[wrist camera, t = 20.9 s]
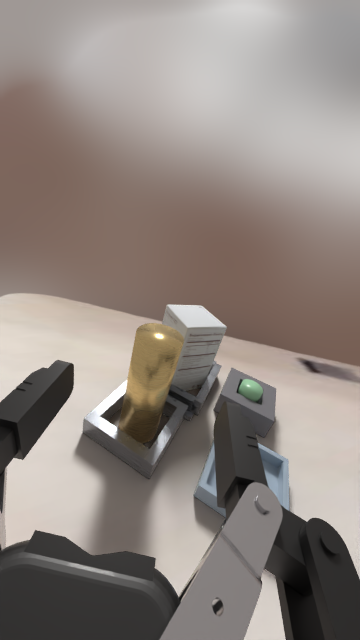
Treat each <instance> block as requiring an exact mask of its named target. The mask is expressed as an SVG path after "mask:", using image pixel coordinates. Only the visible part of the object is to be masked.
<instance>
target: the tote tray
mask: <svg viewBox="0 0 360 640" xmlns="http://www.w3.org/2000/svg"><path fill="white" fill-rule="evenodd" d="M258 446H259V448H258V449H259V450H260V454H261V459H262V463H263V467H264V471H265V475H266V479H267V483H268V486H269V489H271V490H272V491H273V493H274V494H275V495H276V497H277V498H278V500H279V502H280V504H281V505H282V506H283V507H284V508H285V509H287V510H288V511H289V470H288V459H286V458H284V457H283V456H281V455H279V454H277V453H275V452H274V451H272V450H270V449H268V448H266V447H265V446H263V445H261V444H259V443H258ZM194 496H195V497H196V498H198V499H199V500H200V501H202V502H203V503H205V504H206V505H208V506H209V507H211V508H212V509H214V510H215V511H217V512H218V513H219V514H221V515H222V516H224V517H225V518H226V511H225V509H224V508H220V507H217V491H216V471H215V451H214V440H213V443H212V446H211V448H210V451H209V454H208V457H207V460H206V462H205V465H204V468H203V471H202V473H201V476H200V479H199V482H198V485H197V487H196V490H195V493H194Z"/></svg>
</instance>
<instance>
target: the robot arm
mask: <svg viewBox="0 0 360 640" xmlns="http://www.w3.org/2000/svg"><path fill="white" fill-rule="evenodd" d="M73 386H74V365H73V364H72V363H68V362H64V361H60V360H57V361H55V362H54V363H53V364H52V365H51V366H50V367H49V368H48V369H47V368H41V369H39V370H37V371H35V372H33V373H32V374H30V375H29V376H28V377H27V378H26V379H25V380H24V381H23V383H21V384H20V385H19V386H17V387H16V389H14V390H13V391H12V392H11V393H10V394H9V395H8V396H7V397H6V398H4V399H3V400H2V401H1V402H0V640H244V637H245V634H246V631H247V629H248V626H249V623H250V620H251V617H252V615H253V612H254V609H255V606H256V604H257V601H258V598H259V595H260V592H261V588H262V581H261V575H262V572H263V569H264V568H265V569H267V570H268V571H270V572H271V573H272V574H274V575H275V576H276V582H277V588H278V594H279V600H280V606H281V613H282V619H283V625H284V631H285V637H286V640H360V579H359V577H358V574H357V571H356V569H355V566H354V564H353V561H352V559H351V556H350V554H349V551H348V549H347V547H346V545H345V543H344V541H343V539H342V538H341V536H340V535H339V534H338V532H337V531H336V530H335V529H334V528H333V527H332V526H331V525H330V524H328V523H327V522H325V521H324V520H322V519H319V518H312V519H310V520H309V521H308V522H306V521H305V520H303V519H301V518H300V517H298V516H296V515H295V514H293V513H292V512H290V511H288V510H287V509H285V508H284V507H283V506H282V505H281V504H280V502H279V500H278V498H277V497H276V495H275V494H274V493H273V491H272V490H271V489H269V486H268V483H267V479H266V475H265V471H264V467H263V463H262V459H261V454H260V450H259V449H258V448H259V446H258V442H257V440H256V434H255V429H254V427H253V425H252V424H251V422H250V420H249V419H248V418H247V417H243V416H242V413H241V408H240V405H238V404H234V403H230V402H226V401H225V402H224V403H223V405H222V407H221V409H220V412H219V414H218V416H217V418H216V421H215V424H214V451H215V471H216V491H217V507H220V508H224V509H225V511H226V519H225V521H224V522H223V524H222V526H221V527H220V529H219V531H218V532H217V534H216V536H215V537H214V539H213V541H212V543H211V544H210V546H209V548H208V549H207V551H206V553H205V554H204V556H203V558H202V559H201V561H200V563H199V564H198V566H197V567H196V569H195V571H194V572H193V574H192V575H191V577H190V579H189V580H188V582H187V584H186V585H185V587H184V589H183V590H182V592H181V594H180V595H179V597H178V595H177V593H176V591H175V590H174V588H173V587H172V585H171V584H170V582H169V581H168V580H167V578H166V577H165V576H164V575H163V574H162V573H161V572H160V571H158V570H157V569H155V568H154V567H155V559H156V558H153V557H149V556H145V555H140V554H136V553H132V552H127V551H125V552H117V553H110V554H103V555H94V556H93V555H90V554H88V553H87V552H86V551H84V550H83V549H81V548H80V547H78V546H77V545H76V544H74V543H73V542H71V541H70V540H69V539H67V538H66V537H63V536H58V535H54V534H50V533H45V532H41V531H37V530H35V532H34V534H33V536H32V537H31V539H30V540H27V541H23V542H19V543H16V544H14V545H11V546H9V547H6V530H5V500H6V480H7V466H8V464H9V463H10V462H11V460H12V459H13V458H18V459H22V460H23V459H24V458H25V457H26V455H27V454H28V453H29V451H30V450H31V448H32V447H33V446H34V444H35V443H36V442H37V440H38V439H39V438H40V436H41V435H42V433H43V432H44V431H45V429H46V428H47V427H48V425H49V424H50V423H51V421H52V420H53V419H54V417H55V416H56V414H57V413H58V412H59V410H60V409H61V408H62V406H63V405H64V404H65V402H66V401H67V399H68V398H69V397H70V395H71V393H72V390H73Z"/></svg>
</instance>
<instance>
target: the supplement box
mask: <svg viewBox="0 0 360 640" xmlns="http://www.w3.org/2000/svg"><path fill="white" fill-rule="evenodd" d="M162 324H163V325H166V326H169V327H172V328H174V329H175V330H177V331H178V332H179V333H180V334H181V335H182V336H183V338H184V343H183V347H182V350H181V353H180V356H179V360H178V363H177V366H176V370H175V373H174V376H173V380H172V383H171V384H173V385H175V386H177V387H178V388H180V389H182V390H184V391H187V390H192V389H197V388H201V387H202V386H203V384H204V383H205V380H206V378H207V376H208V373H209V371H210V368H211V366H212V363H213V361H214V358H215V356H216V353H217V351H218V348H219V346H220V343H221V341H222V338H223V336H224V333H225V331H226V328H227V327H226V326H225V325H224V324H223V323H221V322H220V321H219V320H218V319H217V318H215V317H214V316H213V315H212V314H211V313H210V312H208V311H207V310H206V309H205V308H204V307H202V306H197V305H167V307H166V310H165V315H164V319H163V323H162Z"/></svg>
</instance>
